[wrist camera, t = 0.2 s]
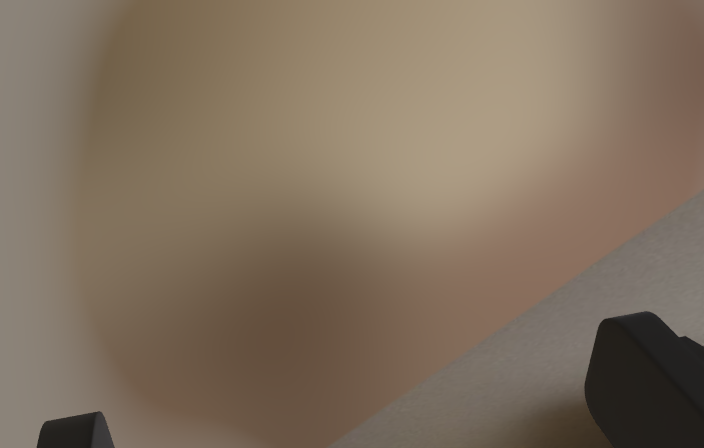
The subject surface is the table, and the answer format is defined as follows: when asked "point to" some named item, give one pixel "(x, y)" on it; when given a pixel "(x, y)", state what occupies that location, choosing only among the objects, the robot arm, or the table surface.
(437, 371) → the table surface
